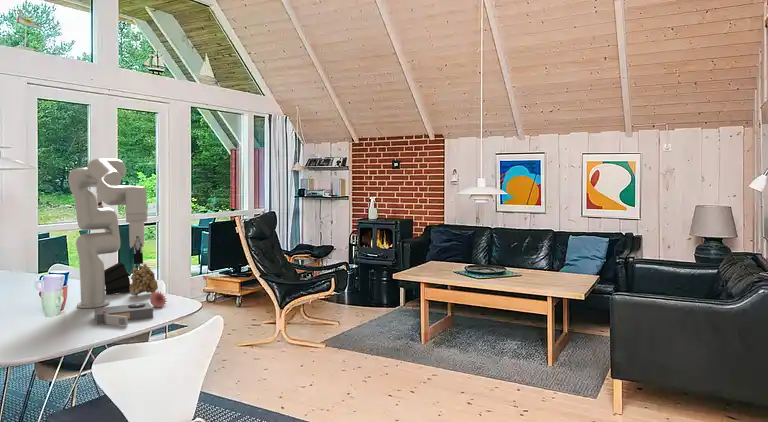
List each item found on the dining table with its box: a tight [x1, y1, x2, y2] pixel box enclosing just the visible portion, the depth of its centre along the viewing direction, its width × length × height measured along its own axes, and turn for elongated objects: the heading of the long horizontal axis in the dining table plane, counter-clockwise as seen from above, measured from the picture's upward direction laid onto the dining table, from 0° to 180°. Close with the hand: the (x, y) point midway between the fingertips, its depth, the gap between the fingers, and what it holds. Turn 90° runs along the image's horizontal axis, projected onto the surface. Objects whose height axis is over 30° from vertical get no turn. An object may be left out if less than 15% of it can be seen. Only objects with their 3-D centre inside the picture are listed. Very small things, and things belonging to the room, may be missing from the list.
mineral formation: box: [128, 263, 159, 297], centre depth 269 cm, size 8×13×15 cm, turn 137°
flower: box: [149, 290, 168, 308], centre depth 245 cm, size 8×8×6 cm
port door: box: [104, 314, 129, 327], centre depth 214 cm, size 2×11×4 cm, turn 71°
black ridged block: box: [104, 261, 131, 296], centre depth 273 cm, size 4×13×15 cm, turn 124°
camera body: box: [93, 301, 154, 325], centre depth 225 cm, size 12×20×4 cm, turn 121°
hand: (138, 262), depth 219 cm, fingers open, 9 cm apart
